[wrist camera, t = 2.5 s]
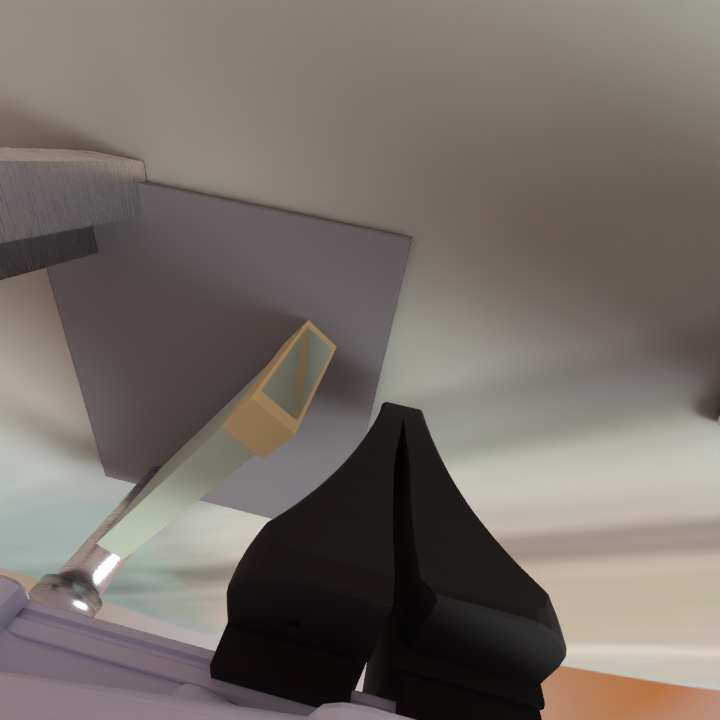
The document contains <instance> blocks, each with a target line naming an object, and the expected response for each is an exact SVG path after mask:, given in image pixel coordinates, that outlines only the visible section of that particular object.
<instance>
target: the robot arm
mask: <svg viewBox="0 0 720 720" xmlns="http://www.w3.org/2000/svg"><path fill="white" fill-rule="evenodd" d="M718 424H719V425H720V416H719V418H718ZM227 614H228V623H227V626H226V628H225V631H224V633H223V635H222V638H221V640H220V643H219V645H218V647H217V649H216V652H215V651H211V650H208V649H204V648H201V647H197V646H194V645H190V644H186V643H183V642H179V641H176V640H172V639H168V638H164V637H161V636H157V635H154V634H150V633H147V632H143V631H140V630H136V629H132V628H129V627H125V626H122V625H118V624H114V623H111V622H107V621H103V620H100V619H96V618H93V617H89V616H86V615H82V614H78V613H75V612H71V611H68V610H64V609H60V608H57V607H53V606H50V605H46V604H43V603H39V602H35V601H32V600H29V596H28V593H27V591H26V589H25V588H24V587H23V585H22V584H20V583H19V582H17V581H16V580H14V579H12V578H9V577H7V576H3V575H0V720H542V719H541V715H540V710H542V709H544V705H545V704H544V703H545V702H544V698H543V693H542V689H541V683H542V682H543V681H544V680H545V679H546V678H547V677H548V676H549V675H550V674H552V673H553V672H554V671H555V670H556V669H557V668H558V667H559V666H560V664H561V663H562V661H563V660H564V658H565V657H566V645H565V641H564V638H563V635H562V631H561V628H560V625H559V622H558V619H557V616H556V613H555V611H554V608H553V606H552V603H551V601H550V598H549V595H548V594H547V593H546V592H545V591H544V590H543V589H542V588H541V587H540V586H539V585H538V584H537V583H536V582H535V581H534V580H533V579H532V578H531V577H530V576H529V575H528V574H527V573H526V572H525V571H524V570H523V569H522V568H521V567H520V566H519V565H518V564H517V563H516V562H515V561H514V560H513V559H512V558H511V557H510V555H509V554H508V553H507V552H506V551H505V550H504V549H503V548H502V547H501V545H500V544H499V543H498V542H497V541H496V540H495V539H494V537H493V536H492V535H491V534H490V533H489V531H488V530H487V529H486V527H485V526H484V525H483V524H482V522H481V521H480V520H479V519H478V517H477V516H476V515H475V514H474V512H473V511H472V509H471V508H470V506H469V505H468V504H467V502H466V501H465V499H464V498H463V496H462V494H461V493H460V491H459V490H458V488H457V487H456V485H455V483H454V481H453V480H452V478H451V476H450V474H449V473H448V471H447V469H446V467H445V465H444V463H443V461H442V459H441V457H440V455H439V453H438V451H437V449H436V446H435V444H434V442H433V440H432V437H431V435H430V432H429V430H428V427H427V424H426V422H425V419H424V416H423V413H422V411H421V410H419V409H414V408H410V407H406V406H402V405H397V404H393V403H389V402H385V403H383V404H382V407H381V410H380V413H379V415H378V417H377V419H376V421H375V422H374V424H373V426H372V427H371V429H370V430H369V432H368V433H367V435H366V436H365V438H364V439H363V440H362V442H361V443H360V444H359V446H358V447H357V448H356V449H355V451H354V452H353V453H352V454H351V455H350V457H349V458H348V459H347V460H346V461H345V462H344V463H343V464H342V465H341V466H340V467H339V468H338V469H337V470H336V471H335V472H334V473H333V474H332V475H331V476H330V477H329V478H328V479H327V480H326V481H325V482H323V483H322V484H321V485H320V486H319V487H318V488H316V489H315V490H314V491H312V492H311V493H310V494H309V495H307V496H306V497H305V498H303V499H302V500H301V501H299V502H298V503H297V504H295V505H294V506H292V507H291V508H289V509H288V510H286V511H285V512H283V513H282V514H280V515H278V516H277V517H275V518H274V519H272V520H271V521H269V522H268V523H266V525H265V526H264V527H263V528H262V530H261V531H260V532H259V533H258V535H257V536H256V537H255V539H254V540H253V542H252V543H251V544H250V546H249V547H248V549H247V550H246V552H245V553H244V555H243V557H242V559H241V560H240V562H239V564H238V566H237V568H236V570H235V572H234V575H233V577H232V579H231V581H230V583H229V585H228V590H227ZM366 662H367V666H366V672H365V679H364V685H363V691H362V692H359V691H355V688H356V686H357V683H358V681H359V679H360V676H361V674H362V671H363V669H364V667H365V664H366Z"/></svg>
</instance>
